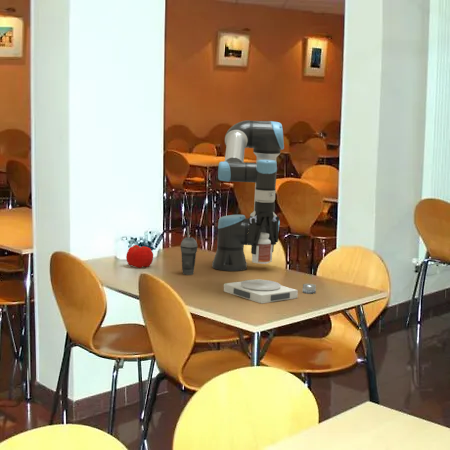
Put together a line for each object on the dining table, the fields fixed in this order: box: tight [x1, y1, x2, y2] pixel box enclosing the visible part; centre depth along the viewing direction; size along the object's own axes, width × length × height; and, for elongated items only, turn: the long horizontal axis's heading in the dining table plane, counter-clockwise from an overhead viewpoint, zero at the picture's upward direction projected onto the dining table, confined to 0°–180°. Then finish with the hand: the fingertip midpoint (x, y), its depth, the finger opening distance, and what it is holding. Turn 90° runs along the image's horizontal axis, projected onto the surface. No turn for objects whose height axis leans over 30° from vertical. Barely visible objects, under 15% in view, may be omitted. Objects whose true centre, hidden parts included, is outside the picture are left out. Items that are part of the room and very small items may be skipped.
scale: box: [223, 278, 299, 305], centre depth 312 cm, size 22×18×4 cm
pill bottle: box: [257, 233, 271, 265], centre depth 310 cm, size 6×6×11 cm
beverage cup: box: [180, 226, 198, 276], centre depth 344 cm, size 7×7×20 cm
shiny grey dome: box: [302, 283, 317, 295], centre depth 320 cm, size 5×5×3 cm
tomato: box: [125, 244, 154, 269], centre depth 356 cm, size 11×12×9 cm
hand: (261, 261), depth 311 cm, fingers closed on pill bottle, 6 cm apart
